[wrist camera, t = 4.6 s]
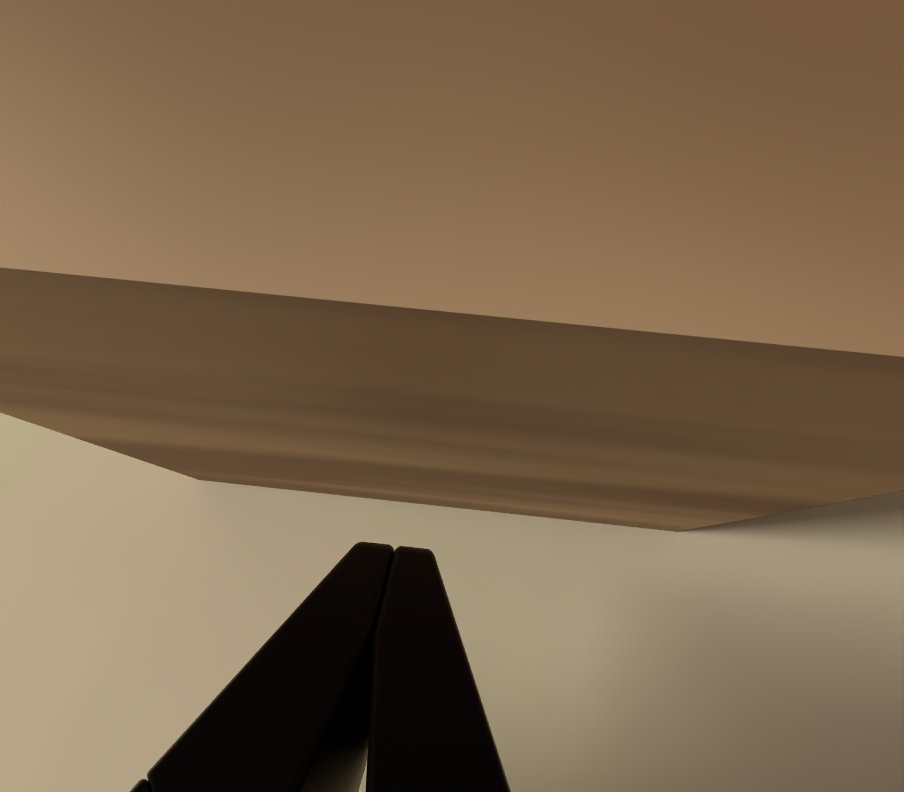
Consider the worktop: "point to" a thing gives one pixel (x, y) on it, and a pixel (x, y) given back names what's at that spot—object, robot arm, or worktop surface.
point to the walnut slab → (464, 247)
